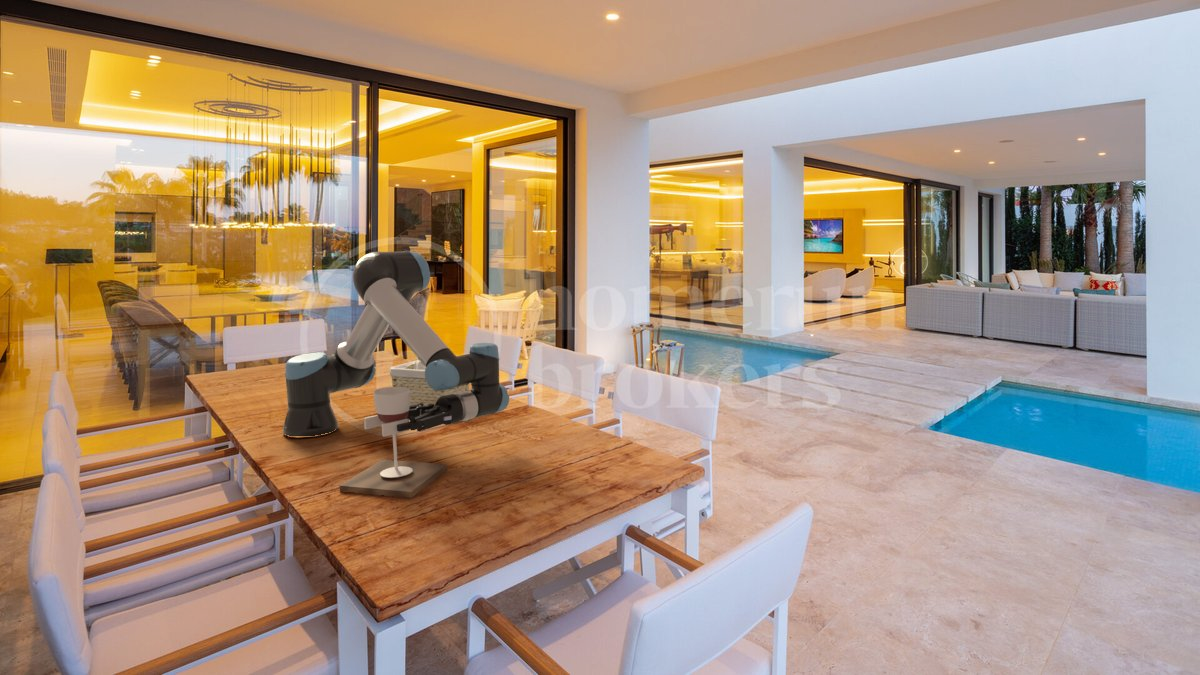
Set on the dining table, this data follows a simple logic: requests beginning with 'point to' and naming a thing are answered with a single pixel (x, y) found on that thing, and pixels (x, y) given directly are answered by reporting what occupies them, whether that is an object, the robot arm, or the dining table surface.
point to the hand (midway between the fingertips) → (373, 426)
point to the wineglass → (393, 419)
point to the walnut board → (394, 479)
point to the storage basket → (419, 383)
